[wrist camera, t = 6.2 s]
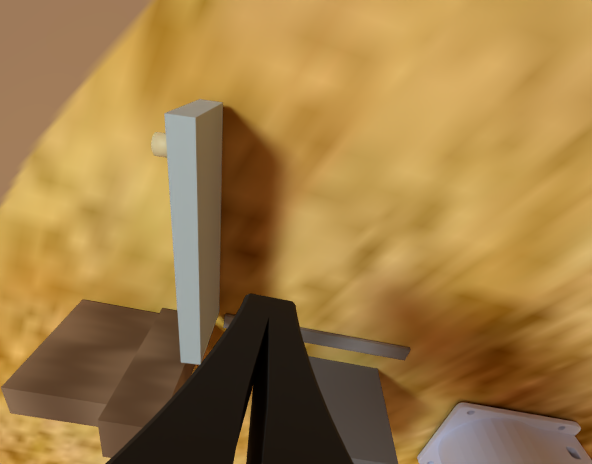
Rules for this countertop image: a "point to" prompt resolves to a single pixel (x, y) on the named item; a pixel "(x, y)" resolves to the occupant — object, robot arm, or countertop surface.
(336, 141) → the countertop surface
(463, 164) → the countertop surface
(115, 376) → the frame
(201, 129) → the pale grey bar
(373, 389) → the stepped block
